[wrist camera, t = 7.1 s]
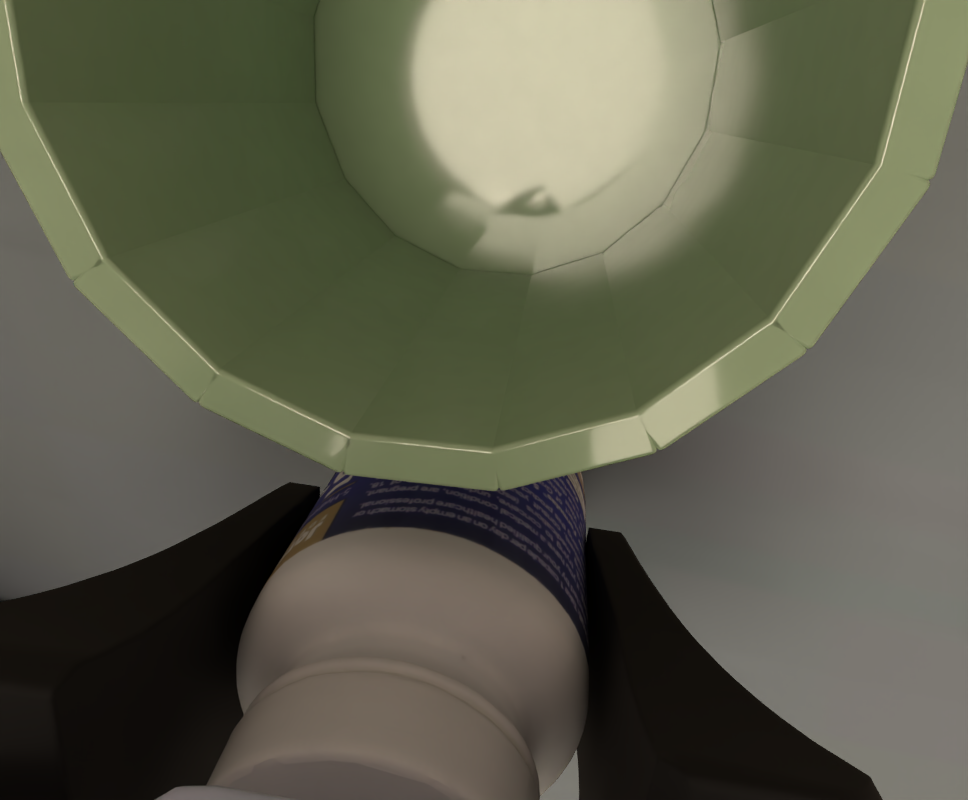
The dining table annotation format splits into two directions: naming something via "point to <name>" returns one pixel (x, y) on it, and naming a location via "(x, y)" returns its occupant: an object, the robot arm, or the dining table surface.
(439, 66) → the mug
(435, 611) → the pill bottle
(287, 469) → the dining table surface
